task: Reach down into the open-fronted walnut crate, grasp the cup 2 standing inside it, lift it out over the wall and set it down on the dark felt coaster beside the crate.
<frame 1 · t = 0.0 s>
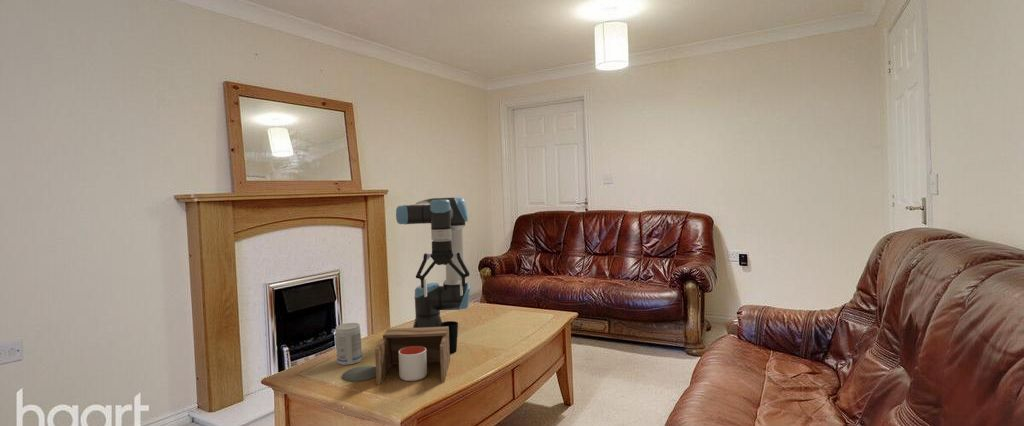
hand: (443, 295, 187), 28 cm above the table, fingers open, 13 cm apart
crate: (415, 371, 185), on the table
supplement tub: (349, 361, 199), on the table
coaster: (362, 374, 184), on the table
cup: (450, 352, 207), on the table
cup 2: (413, 377, 180), on the table
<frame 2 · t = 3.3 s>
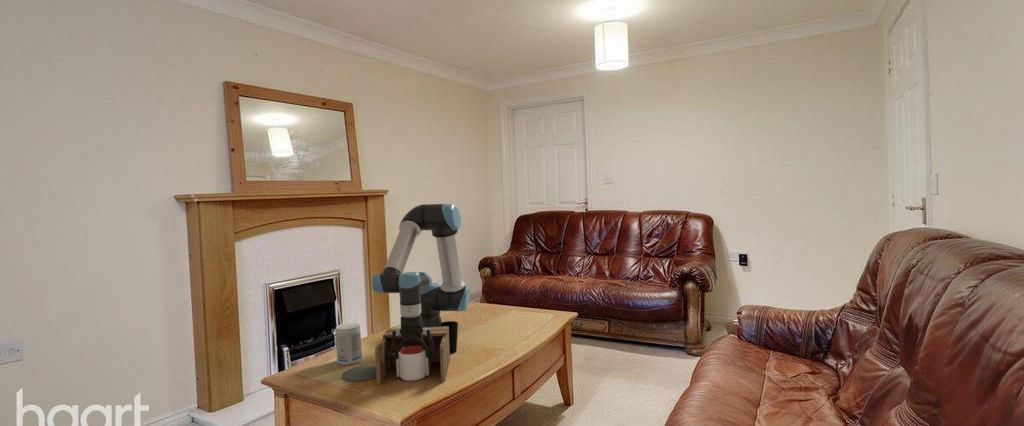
hand: (413, 374, 180), 1 cm above the table, fingers closed on cup 2, 10 cm apart
cup 2: (413, 377, 180), on the table, touching gripper
everything else where it was.
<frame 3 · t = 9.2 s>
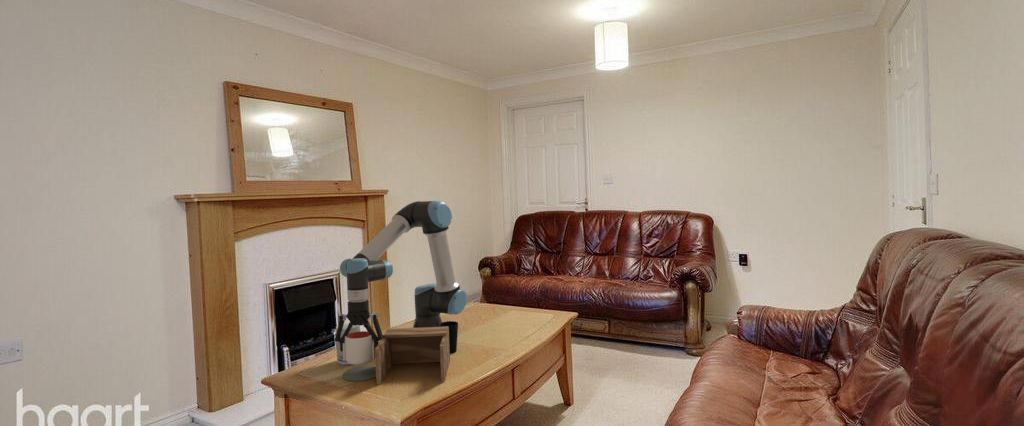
hand: (359, 359, 183), 6 cm above the table, fingers closed on cup 2, 10 cm apart
cup 2: (359, 361, 183), point 5 cm above the table, touching gripper
everything else where it was.
when the fingers open (3 cm above the table, at t = 10.5 s): cup 2 drops 2 cm, resting on coaster.
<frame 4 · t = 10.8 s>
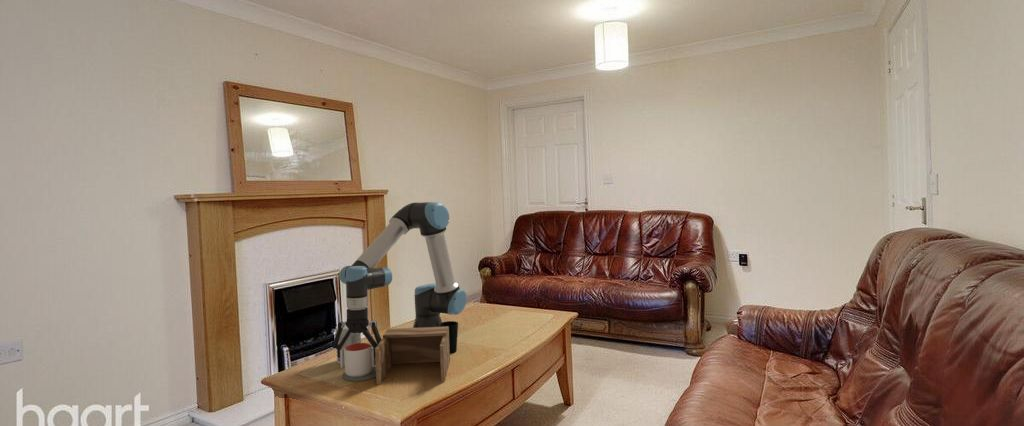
hand: (358, 365, 184), 3 cm above the table, fingers open, 11 cm apart
cup 2: (359, 373, 184), resting on coaster
everything else where it was.
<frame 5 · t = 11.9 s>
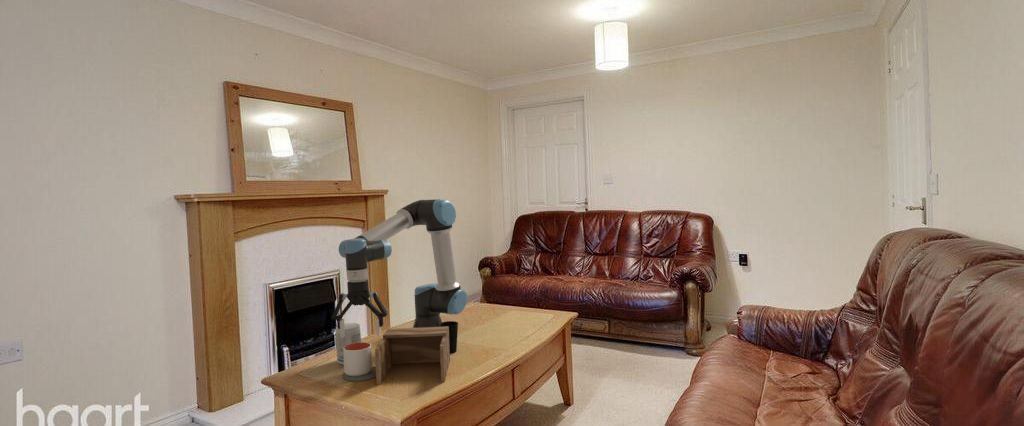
hand: (361, 336, 184), 14 cm above the table, fingers open, 13 cm apart
nothing on the table moved.
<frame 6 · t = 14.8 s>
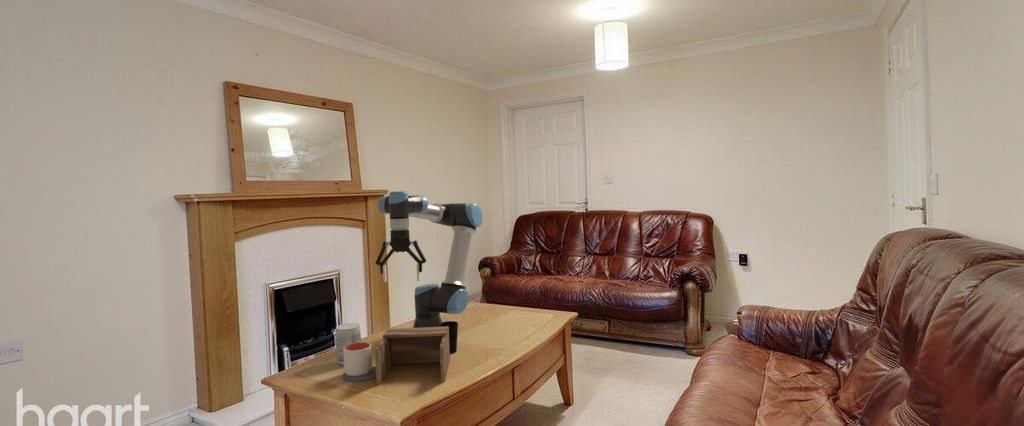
hand: (401, 281, 200), 32 cm above the table, fingers open, 13 cm apart
nothing on the table moved.
at the end: cup 2 inside the target area on the coaster (1.4 cm from its centre), point 0.4 cm above the coaster's base; cup 2 tilted 0°; the gripper is holding nothing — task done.
